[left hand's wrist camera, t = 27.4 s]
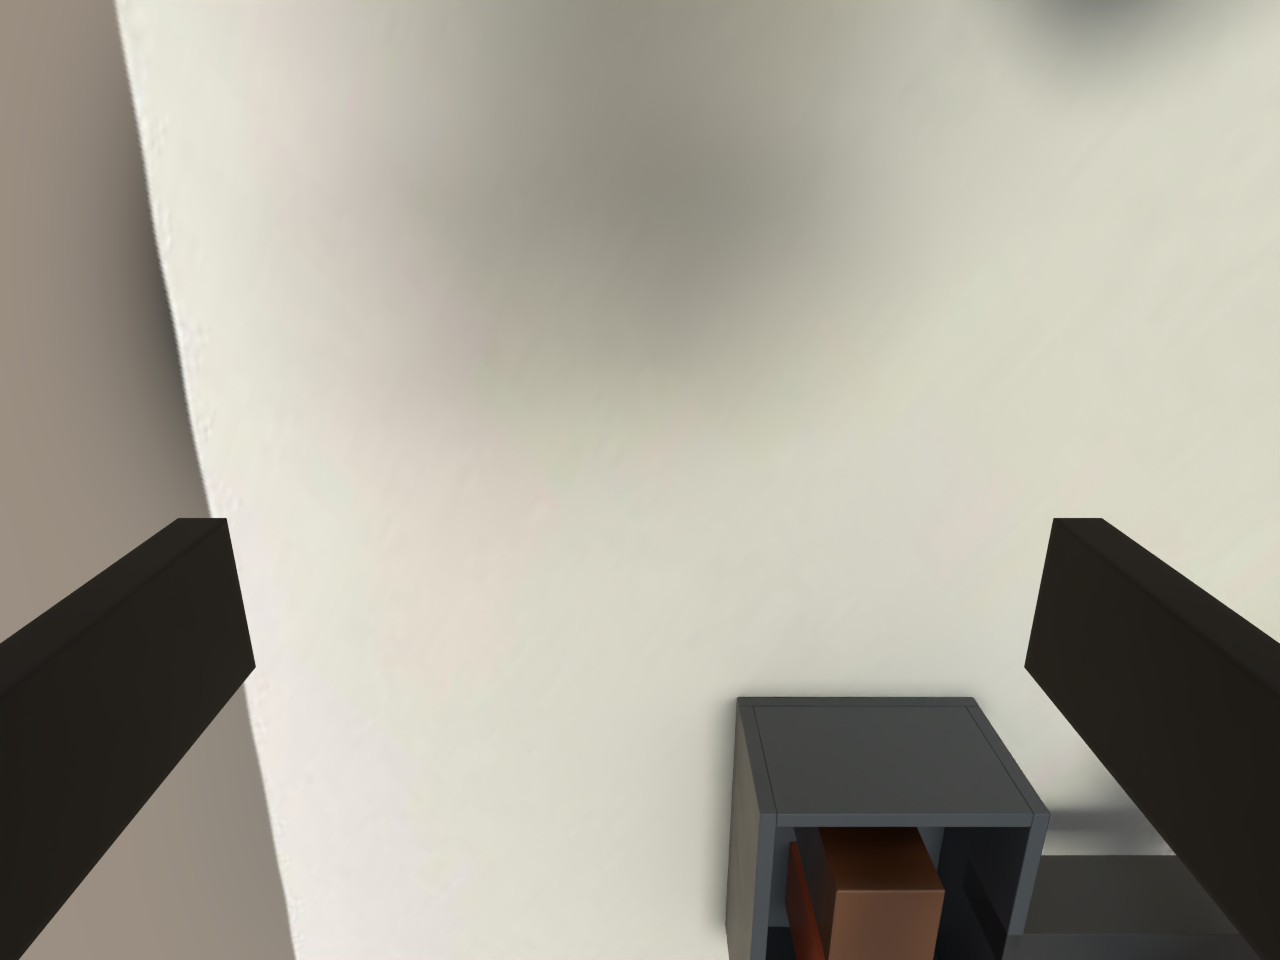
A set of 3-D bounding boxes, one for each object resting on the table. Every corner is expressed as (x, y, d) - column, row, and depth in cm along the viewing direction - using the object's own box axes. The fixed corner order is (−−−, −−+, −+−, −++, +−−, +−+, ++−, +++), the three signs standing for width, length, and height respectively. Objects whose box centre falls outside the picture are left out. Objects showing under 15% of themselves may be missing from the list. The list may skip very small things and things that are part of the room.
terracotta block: (784, 903, 49) (818, 1070, 40) (789, 841, 48) (826, 1001, 38) (863, 903, 49) (916, 1070, 40) (872, 841, 48) (929, 1001, 38)
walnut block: (789, 814, 47) (827, 970, 38) (795, 746, 45) (836, 891, 36) (873, 814, 47) (931, 970, 38) (882, 746, 45) (945, 891, 36)
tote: (725, 925, 51) (742, 1070, 43) (737, 697, 45) (759, 814, 37) (1143, 925, 51) (1243, 1069, 43) (1211, 697, 45) (1344, 813, 37)
